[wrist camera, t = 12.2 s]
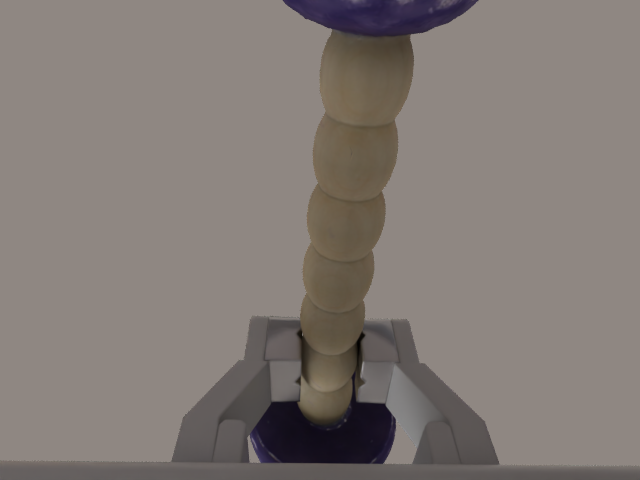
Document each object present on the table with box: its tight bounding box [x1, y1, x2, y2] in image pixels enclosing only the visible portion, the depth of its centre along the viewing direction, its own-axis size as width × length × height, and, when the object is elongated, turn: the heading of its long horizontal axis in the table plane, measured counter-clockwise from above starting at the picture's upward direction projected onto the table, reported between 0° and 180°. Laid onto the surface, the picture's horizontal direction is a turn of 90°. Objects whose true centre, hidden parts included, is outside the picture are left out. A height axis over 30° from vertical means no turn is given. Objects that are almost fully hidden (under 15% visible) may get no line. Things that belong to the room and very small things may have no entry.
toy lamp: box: [250, 0, 478, 464], centre depth 11 cm, size 5×5×17 cm
